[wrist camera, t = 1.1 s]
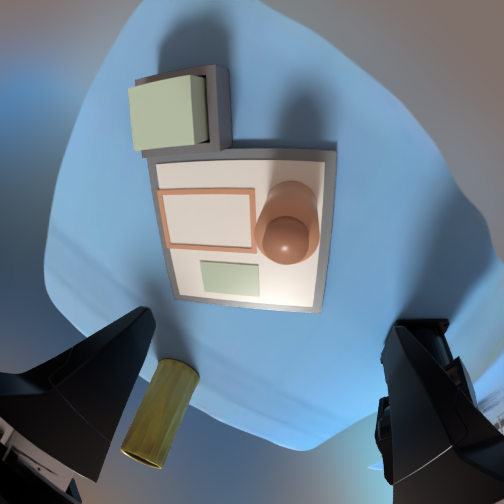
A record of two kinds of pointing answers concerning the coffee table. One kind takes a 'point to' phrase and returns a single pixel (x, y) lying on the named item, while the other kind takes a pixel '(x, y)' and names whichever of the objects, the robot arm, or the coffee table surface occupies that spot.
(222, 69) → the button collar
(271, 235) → the tan domed peg
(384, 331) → the coffee table surface
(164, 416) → the vase
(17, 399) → the robot arm
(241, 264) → the tray
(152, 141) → the button
